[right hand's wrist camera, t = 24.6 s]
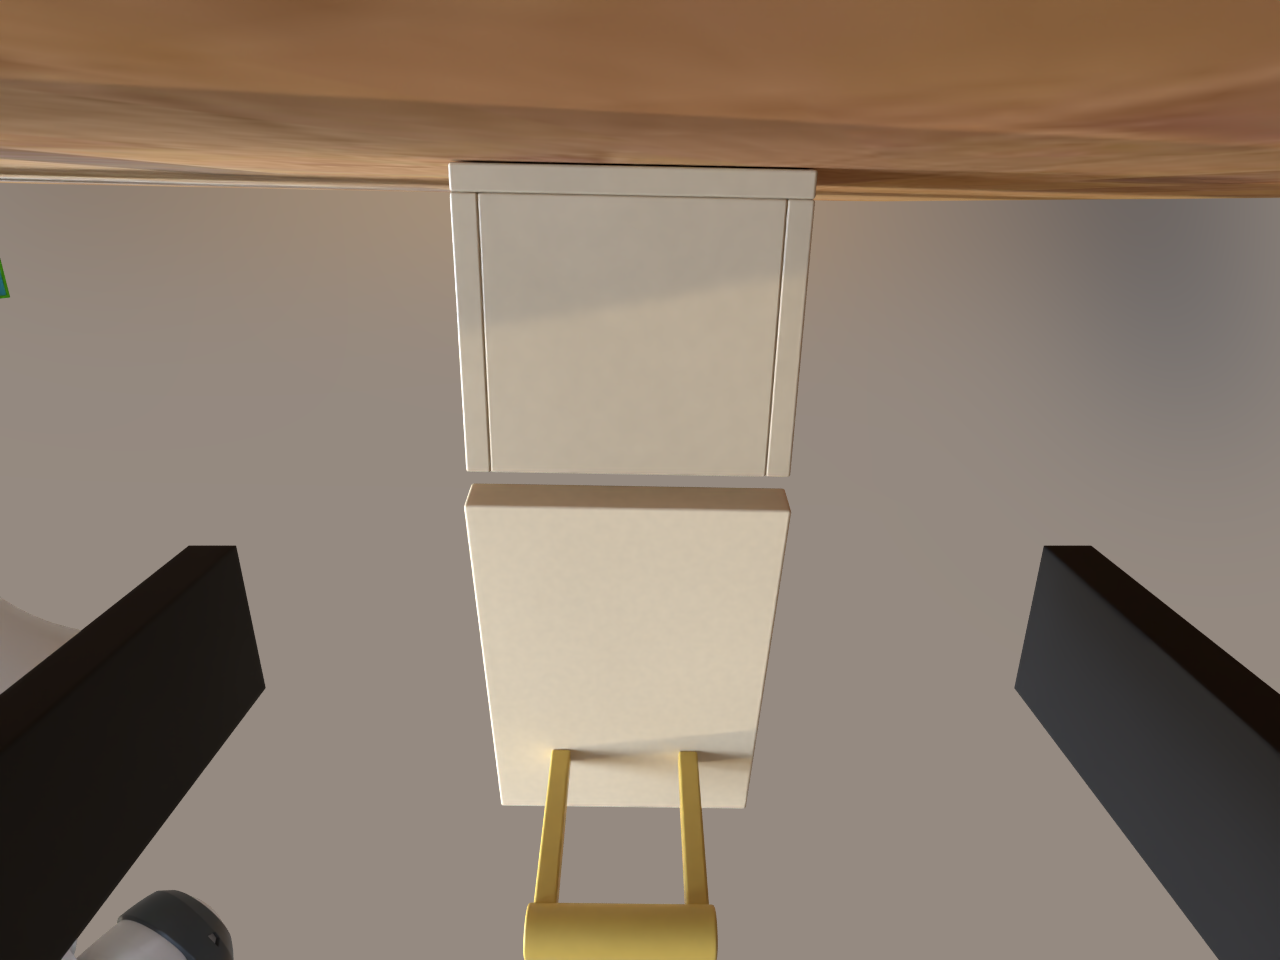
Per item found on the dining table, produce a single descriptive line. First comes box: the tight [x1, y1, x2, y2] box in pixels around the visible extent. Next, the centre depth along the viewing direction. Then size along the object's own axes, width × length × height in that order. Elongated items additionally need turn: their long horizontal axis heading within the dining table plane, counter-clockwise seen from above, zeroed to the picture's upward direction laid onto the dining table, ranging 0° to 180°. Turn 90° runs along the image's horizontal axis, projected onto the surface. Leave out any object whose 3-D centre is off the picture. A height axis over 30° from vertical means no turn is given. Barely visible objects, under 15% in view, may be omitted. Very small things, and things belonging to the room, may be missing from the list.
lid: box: [464, 484, 791, 960], centre depth 24 cm, size 14×10×8 cm
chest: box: [448, 162, 817, 477], centre depth 28 cm, size 14×10×8 cm
